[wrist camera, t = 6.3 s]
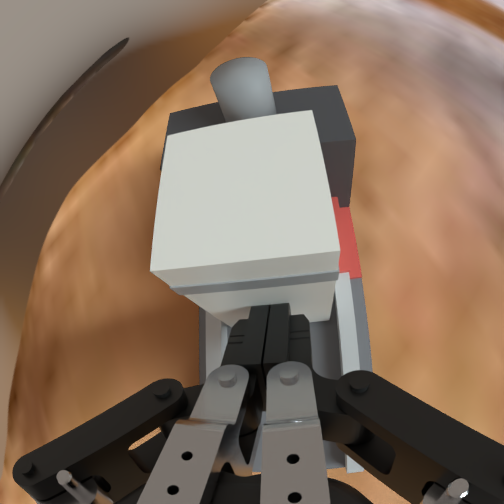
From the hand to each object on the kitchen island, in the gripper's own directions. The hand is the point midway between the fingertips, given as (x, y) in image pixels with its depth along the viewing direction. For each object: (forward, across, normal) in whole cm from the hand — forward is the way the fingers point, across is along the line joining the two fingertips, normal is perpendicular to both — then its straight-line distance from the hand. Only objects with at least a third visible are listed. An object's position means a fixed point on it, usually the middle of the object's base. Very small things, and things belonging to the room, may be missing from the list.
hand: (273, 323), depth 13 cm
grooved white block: (+5, 0, 0) cm, 5 cm away
